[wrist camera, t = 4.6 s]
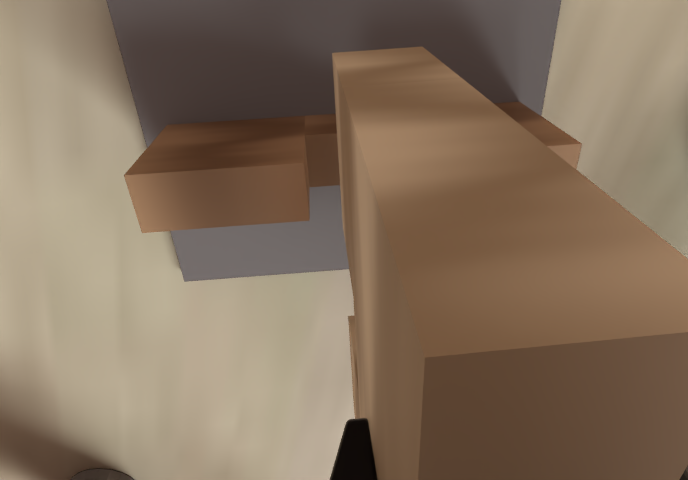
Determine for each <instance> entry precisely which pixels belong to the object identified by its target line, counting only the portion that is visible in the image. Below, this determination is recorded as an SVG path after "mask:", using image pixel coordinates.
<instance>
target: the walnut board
mask: <svg viewBox="0 0 688 480" xmlns="http://www.w3.org/2000/svg"><path fill="white" fill-rule="evenodd" d="M494 104H495V105H496V106H497V107H499V108H500V109H501V110H502V111H504V112H505V113H506V114H507V115H509V116H510V117H511V118H512V119H514V120H515V121H516V122H517V123H519V124H520V125H521V126H522V127H524V128H525V129H526V130H527V131H529V132H530V133H531V134H532V135H534V136H535V137H536V138H537V139H539V140H540V141H541V142H542V143H544V144H545V145H546V146H547V147H549V148H550V149H551V150H552V151H554V152H555V153H556V154H557V155H559V156H560V157H561V158H562V159H564V160H565V161H566V162H567V163H569V164H570V165H571V166H572V167H574V168H575V169H576V168H577V163H578V159H579V154H580V150H581V145H582V144H581V143H580V142H578V141H577V140H576V139H574V138H573V137H571V136H570V135H568V134H567V133H565V132H564V131H562V130H561V129H559V128H558V127H556V126H555V125H553V124H552V123H550V122H549V121H547V120H546V119H544V118H543V117H541V116H540V115H539V114H537V113H536V112H534V111H533V110H531V109H530V108H528V107H527V106H525V105H524V104H522V103H521V102H506V103H494ZM124 177H125V180H126V183H127V186H128V190H129V193H130V196H131V199H132V202H133V205H134V209H135V212H136V215H137V218H138V221H139V225H140V228H141V231H142V233H147V232H161V231H174V230H188V229H202V228H216V227H229V226H243V225H257V224H271V223H284V222H298V221H310V204H309V187H321V186H335V185H340V174H339V158H338V142H337V125H336V114H324V115H309V116H293V117H278V118H263V119H248V120H233V121H218V122H202V123H187V124H172V125H167V126H166V127H165V128H164V129H163V130H162V132H161V133H160V134H159V135H158V136H157V137H156V139H155V140H154V141H153V142H152V143H151V144H150V146H149V147H148V148H147V149H146V150H145V151H144V153H143V154H142V155H141V156H140V157H139V158H138V160H137V161H136V162H135V163H134V164H133V165H132V167H131V168H130V169H129V170H128V171H127V172H126V174H125V175H124Z"/></svg>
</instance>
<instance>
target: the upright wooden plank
mask: <svg viewBox="0 0 688 480" xmlns="http://www.w3.org/2000/svg"><path fill="white" fill-rule="evenodd" d="M332 61H333V77H334V93H335V109H336V125H337V142H338V158H339V174H340V190H341V206H342V222H343V231H344V237H345V244H346V251H347V257H348V264H349V270H350V277H351V283H352V290H353V296H354V315H355V316H348V319H349V335H350V351H351V367H352V383H353V399H354V413H355V419H358V418H366V419H367V420H368V423H369V430H370V436H371V442H372V448H373V455H374V461H375V467H376V473H377V480H679V479H680V478H681V476H682V474H683V473H684V471H685V469H686V467H687V466H688V259H687V258H686V257H685V256H683V255H682V254H681V253H680V252H679V251H677V250H676V249H675V248H673V247H672V246H671V245H670V244H669V243H667V242H666V241H665V240H664V239H662V238H661V237H660V236H659V235H657V234H656V233H655V232H654V231H652V230H651V229H650V228H649V227H647V226H646V225H645V224H644V223H642V222H641V221H640V220H639V219H637V218H636V217H635V216H634V215H632V214H631V213H630V212H629V211H627V210H626V209H625V208H624V207H622V206H621V205H620V204H619V203H617V202H616V201H615V200H614V199H612V198H611V197H610V196H609V195H607V194H606V193H605V192H604V191H602V190H601V189H600V188H599V187H597V186H596V185H595V184H594V183H592V182H591V181H590V180H589V179H587V178H586V177H585V176H584V175H582V174H581V173H580V172H579V171H577V170H576V169H575V168H574V167H572V166H571V165H570V164H569V163H567V162H566V161H565V160H564V159H562V158H561V157H560V156H559V155H557V154H556V153H555V152H554V151H552V150H551V149H550V148H549V147H547V146H546V145H545V144H544V143H542V142H541V141H540V140H539V139H537V138H536V137H535V136H534V135H532V134H531V133H530V132H529V131H527V130H526V129H525V128H524V127H522V126H521V125H520V124H519V123H517V122H516V121H515V120H514V119H512V118H511V117H510V116H509V115H507V114H506V113H505V112H504V111H502V110H501V109H500V108H499V107H497V106H496V105H495V104H494V103H492V102H491V101H490V100H489V99H487V98H486V97H485V96H484V95H482V94H481V93H480V92H479V91H477V90H476V89H475V88H474V87H472V86H471V85H470V84H469V83H467V82H466V81H465V80H464V79H462V78H461V77H460V76H459V75H457V74H456V73H455V72H454V71H452V70H451V69H450V68H449V67H447V66H446V65H445V64H444V63H442V62H441V61H440V60H439V59H437V58H436V57H435V56H434V55H432V54H431V53H430V52H429V51H427V50H426V49H425V48H424V47H409V48H395V49H380V50H366V51H352V52H338V53H332Z"/></svg>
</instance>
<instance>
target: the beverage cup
mask: <svg viewBox="0 0 688 480" xmlns="http://www.w3.org/2000/svg"><path fill="white" fill-rule="evenodd" d="M71 480H134V479H132V478H131V477H129V476H127V475H125V474H124V473H121V472H117V471H114V470H108V469H91V470H86V471H83V472H80V473H78V474H76V475H75V476H73V477H72V478H71Z"/></svg>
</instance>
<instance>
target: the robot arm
mask: <svg viewBox="0 0 688 480" xmlns="http://www.w3.org/2000/svg"><path fill="white" fill-rule="evenodd" d="M330 480H377V473H376V467H375V461H374V455H373V448H372V442H371V436H370V430H369V423H368V420H367V419H366V418H358V419H350V420H348V421H347V422H346V425H345V428H344V432H343V435H342V439H341V442H340V446H339V449H338V453H337V456H336V460H335V463H334V467H333V470H332V474H331V477H330ZM679 480H688V466H687V467H686V469H685V471H684V473H683V474H682V476H681V478H680V479H679Z"/></svg>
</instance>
